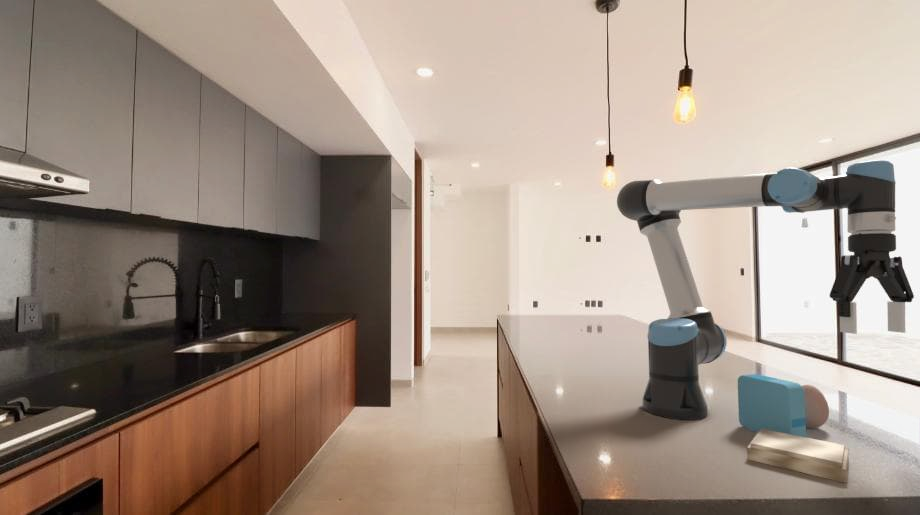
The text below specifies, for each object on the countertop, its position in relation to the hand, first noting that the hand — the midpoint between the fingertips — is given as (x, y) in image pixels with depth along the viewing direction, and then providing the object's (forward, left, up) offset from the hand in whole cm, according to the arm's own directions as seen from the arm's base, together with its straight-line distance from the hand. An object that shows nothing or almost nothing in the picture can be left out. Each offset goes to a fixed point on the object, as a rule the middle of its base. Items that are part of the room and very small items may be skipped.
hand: (872, 332), depth 93 cm
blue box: (-17, -11, -23) cm, 31 cm away
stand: (-11, -25, -23) cm, 35 cm away
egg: (-11, 0, -23) cm, 26 cm away
